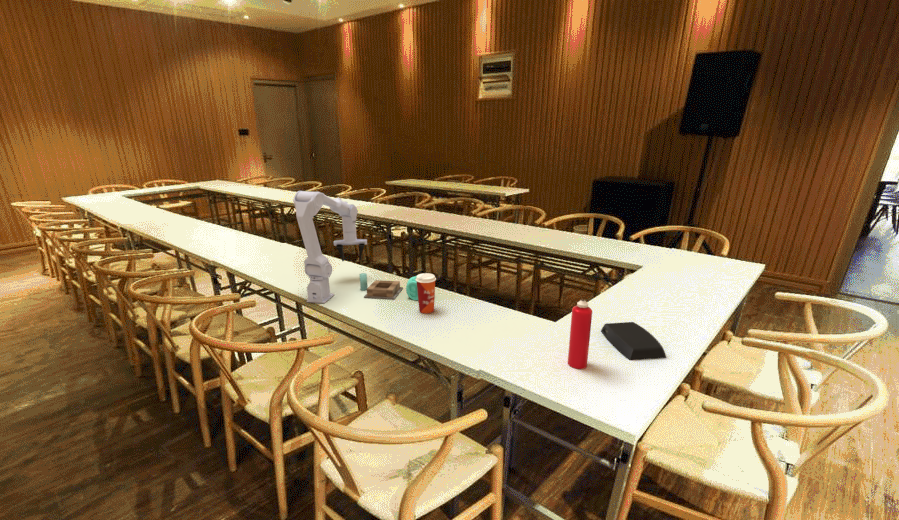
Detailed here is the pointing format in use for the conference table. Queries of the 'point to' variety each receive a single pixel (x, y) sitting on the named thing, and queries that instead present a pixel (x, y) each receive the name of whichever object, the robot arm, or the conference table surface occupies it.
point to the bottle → (579, 335)
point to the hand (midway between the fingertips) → (351, 260)
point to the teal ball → (412, 288)
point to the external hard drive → (633, 341)
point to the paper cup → (426, 292)
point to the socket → (383, 290)
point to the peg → (363, 281)
